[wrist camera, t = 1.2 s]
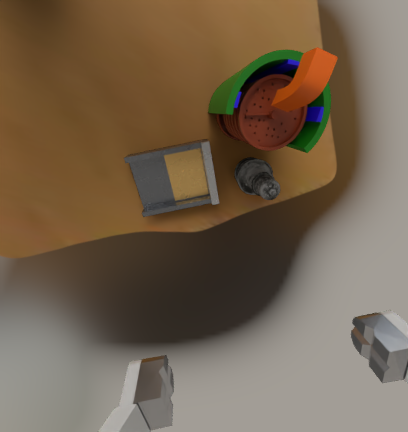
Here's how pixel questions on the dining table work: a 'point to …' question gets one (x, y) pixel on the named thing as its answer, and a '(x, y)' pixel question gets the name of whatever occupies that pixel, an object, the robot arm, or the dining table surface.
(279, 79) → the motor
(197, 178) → the grey open frame
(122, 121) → the dining table surface
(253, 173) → the grey tall turned piece
